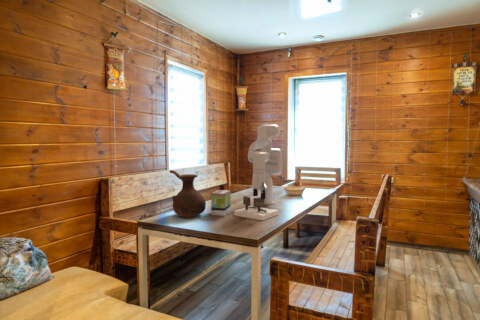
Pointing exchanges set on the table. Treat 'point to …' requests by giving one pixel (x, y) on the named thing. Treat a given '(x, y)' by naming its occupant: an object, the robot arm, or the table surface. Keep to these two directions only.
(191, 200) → the jug
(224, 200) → the tea box
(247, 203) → the far peg
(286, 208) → the table surface
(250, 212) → the board
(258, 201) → the near peg
